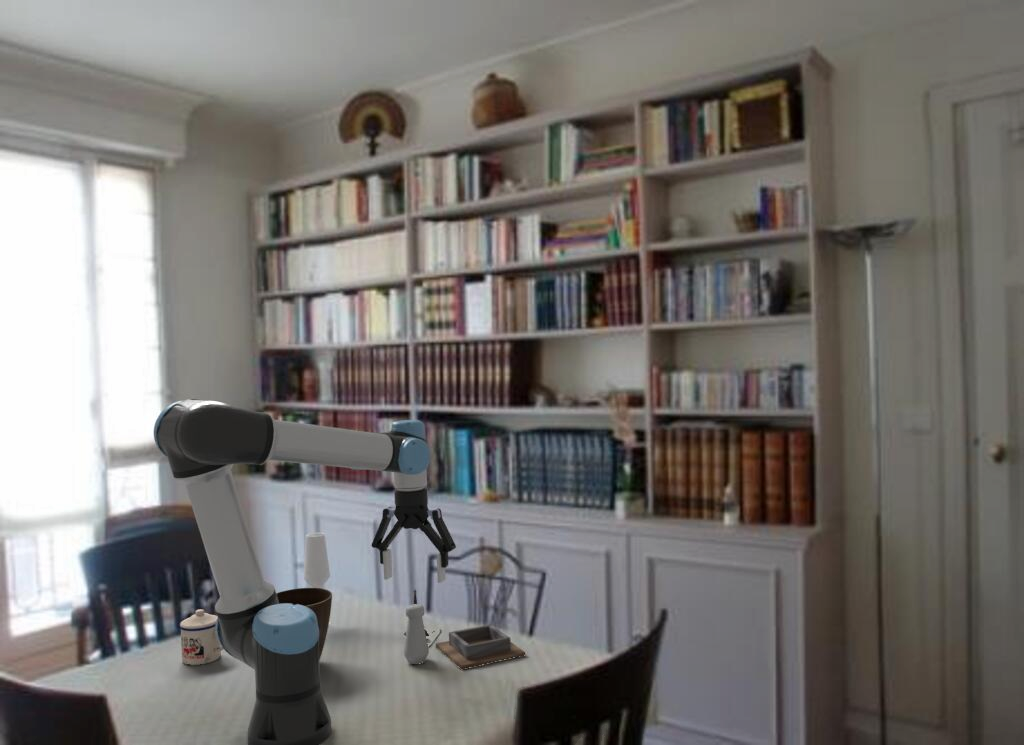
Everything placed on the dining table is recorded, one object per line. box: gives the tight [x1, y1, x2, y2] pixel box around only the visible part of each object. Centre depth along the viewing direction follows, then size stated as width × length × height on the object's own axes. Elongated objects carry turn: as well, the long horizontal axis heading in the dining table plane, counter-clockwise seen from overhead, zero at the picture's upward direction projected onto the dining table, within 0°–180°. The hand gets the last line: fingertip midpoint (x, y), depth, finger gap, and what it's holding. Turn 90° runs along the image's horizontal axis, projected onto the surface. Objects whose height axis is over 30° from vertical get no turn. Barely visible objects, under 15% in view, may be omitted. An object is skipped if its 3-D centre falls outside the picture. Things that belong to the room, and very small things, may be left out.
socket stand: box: [435, 623, 526, 670], centre depth 192 cm, size 16×16×4 cm
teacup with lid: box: [179, 609, 224, 666], centre depth 193 cm, size 12×9×12 cm
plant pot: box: [276, 587, 333, 662], centre depth 187 cm, size 15×15×16 cm
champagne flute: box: [303, 532, 332, 627], centre depth 215 cm, size 7×7×24 cm
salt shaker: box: [403, 603, 430, 665], centre depth 187 cm, size 6×6×13 cm
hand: (414, 579), depth 187 cm, fingers open, 13 cm apart
